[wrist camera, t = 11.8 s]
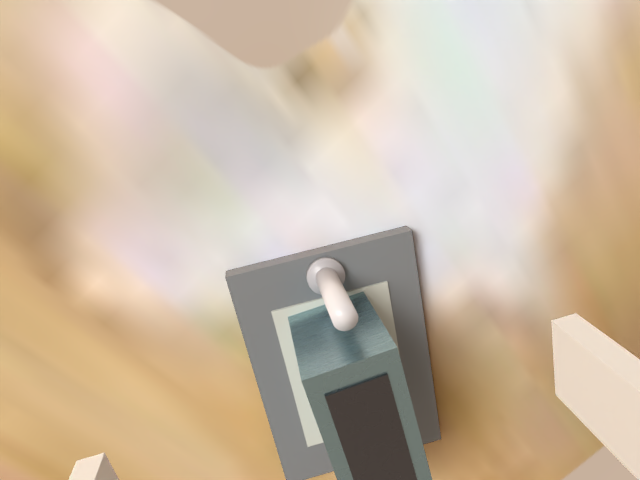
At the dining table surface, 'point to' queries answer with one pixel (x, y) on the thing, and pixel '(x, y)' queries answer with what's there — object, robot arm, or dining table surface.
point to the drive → (359, 395)
